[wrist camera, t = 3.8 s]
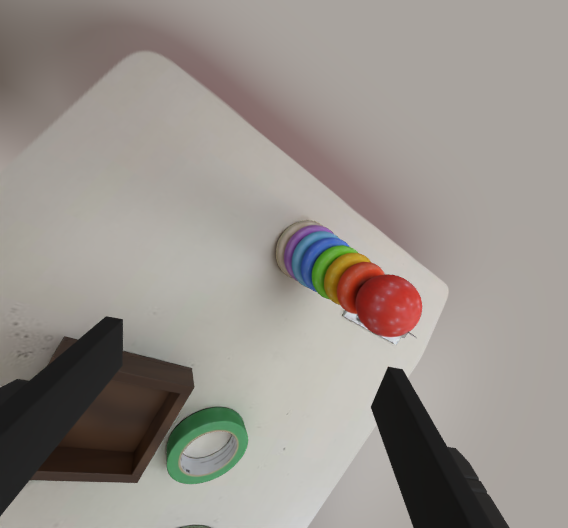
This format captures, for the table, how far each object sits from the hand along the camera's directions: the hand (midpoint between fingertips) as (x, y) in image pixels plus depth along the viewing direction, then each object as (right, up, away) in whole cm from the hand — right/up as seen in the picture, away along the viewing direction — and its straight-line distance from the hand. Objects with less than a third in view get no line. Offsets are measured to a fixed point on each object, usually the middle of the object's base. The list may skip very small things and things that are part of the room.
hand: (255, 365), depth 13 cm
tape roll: (-10, -21, +27) cm, 35 cm away
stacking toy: (+4, +7, +23) cm, 24 cm away
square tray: (-20, -12, +19) cm, 30 cm away
